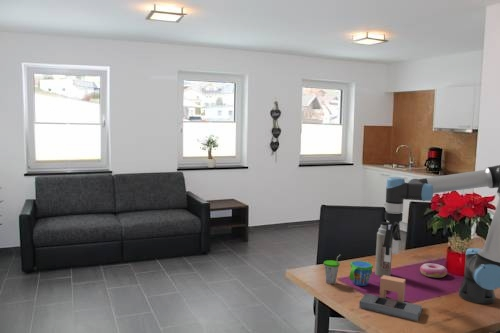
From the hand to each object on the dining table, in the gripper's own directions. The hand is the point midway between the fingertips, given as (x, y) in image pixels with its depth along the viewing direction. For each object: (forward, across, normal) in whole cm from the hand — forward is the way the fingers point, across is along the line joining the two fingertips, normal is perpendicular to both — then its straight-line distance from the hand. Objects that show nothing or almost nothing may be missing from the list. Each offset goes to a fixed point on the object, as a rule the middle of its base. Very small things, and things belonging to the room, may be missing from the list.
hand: (391, 257), depth 204 cm
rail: (+19, +13, +4) cm, 23 cm away
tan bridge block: (+19, +1, +2) cm, 19 cm away
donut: (+20, -46, +11) cm, 51 cm away
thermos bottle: (+19, -30, -11) cm, 38 cm away
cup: (+19, -3, -30) cm, 35 cm away
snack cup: (+19, -10, -17) cm, 28 cm away
